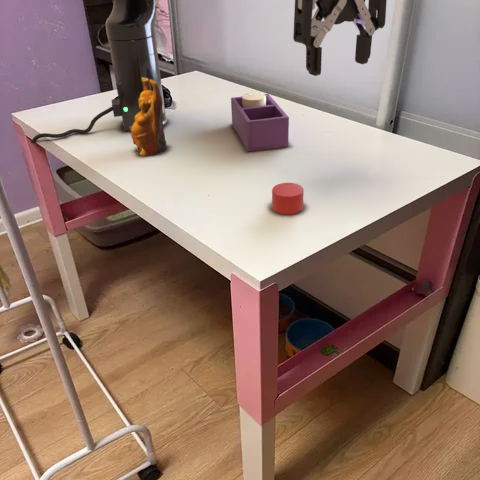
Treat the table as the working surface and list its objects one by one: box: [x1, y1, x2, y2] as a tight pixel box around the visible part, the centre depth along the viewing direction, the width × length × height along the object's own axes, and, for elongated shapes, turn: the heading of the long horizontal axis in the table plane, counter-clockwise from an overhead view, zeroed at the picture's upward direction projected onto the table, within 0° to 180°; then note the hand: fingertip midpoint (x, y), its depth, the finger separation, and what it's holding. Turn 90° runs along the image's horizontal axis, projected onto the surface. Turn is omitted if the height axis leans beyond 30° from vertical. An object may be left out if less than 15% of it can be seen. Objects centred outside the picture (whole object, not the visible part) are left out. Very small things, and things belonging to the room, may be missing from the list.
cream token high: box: [241, 92, 266, 108], centre depth 103 cm, size 5×5×3 cm
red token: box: [271, 182, 304, 215], centre depth 79 cm, size 5×5×3 cm
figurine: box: [130, 78, 168, 157], centre depth 95 cm, size 6×7×13 cm
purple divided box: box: [230, 93, 290, 153], centre depth 102 cm, size 8×15×6 cm, turn 12°
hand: (338, 68), depth 75 cm, fingers open, 8 cm apart
